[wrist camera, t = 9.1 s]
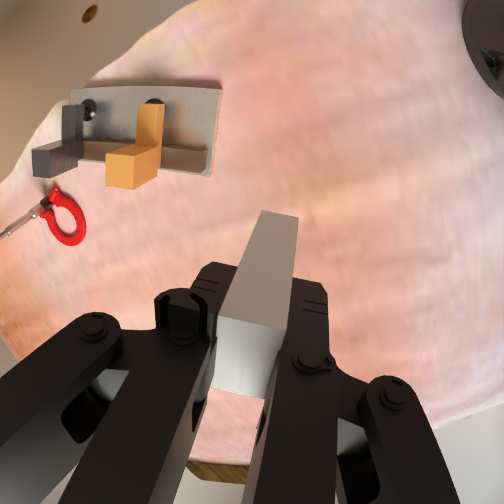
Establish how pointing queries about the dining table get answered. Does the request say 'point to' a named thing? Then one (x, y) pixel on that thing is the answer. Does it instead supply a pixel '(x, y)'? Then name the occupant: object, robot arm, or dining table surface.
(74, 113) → the fixed leg
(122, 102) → the bolt plate
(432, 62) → the dining table surface
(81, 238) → the tow hook
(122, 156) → the orange toy chair
